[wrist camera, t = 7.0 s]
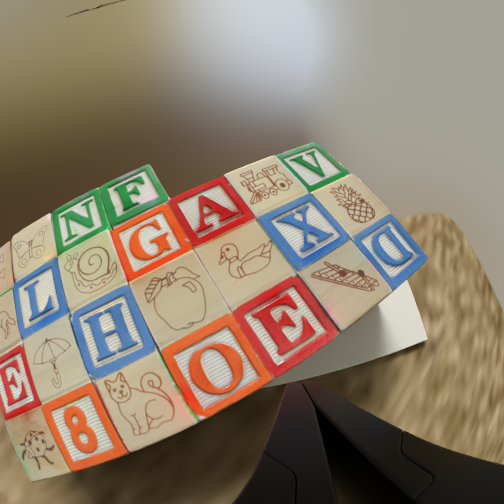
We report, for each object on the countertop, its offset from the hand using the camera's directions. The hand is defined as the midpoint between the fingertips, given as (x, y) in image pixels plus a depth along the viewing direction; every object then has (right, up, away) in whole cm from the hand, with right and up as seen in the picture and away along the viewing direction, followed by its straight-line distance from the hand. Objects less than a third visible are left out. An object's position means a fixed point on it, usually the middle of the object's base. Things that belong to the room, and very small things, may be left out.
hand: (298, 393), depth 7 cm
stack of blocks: (-2, -3, +4) cm, 5 cm away
